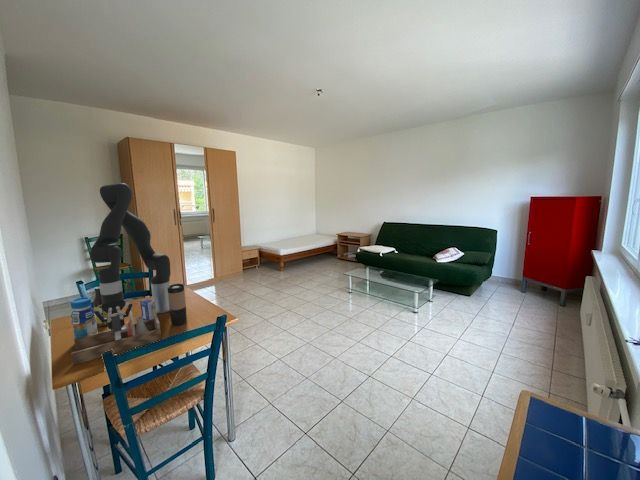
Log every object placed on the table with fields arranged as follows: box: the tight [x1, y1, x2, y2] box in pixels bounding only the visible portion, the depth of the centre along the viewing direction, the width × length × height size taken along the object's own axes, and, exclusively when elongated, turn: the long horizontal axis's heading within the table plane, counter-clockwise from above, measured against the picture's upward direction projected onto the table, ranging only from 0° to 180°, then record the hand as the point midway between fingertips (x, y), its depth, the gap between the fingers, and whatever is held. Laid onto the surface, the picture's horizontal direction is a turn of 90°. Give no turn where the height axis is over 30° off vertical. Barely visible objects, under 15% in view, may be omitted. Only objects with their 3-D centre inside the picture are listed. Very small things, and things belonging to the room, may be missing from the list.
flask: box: [135, 315, 150, 335], centre depth 125 cm, size 7×7×10 cm
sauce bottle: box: [92, 286, 108, 327], centre depth 137 cm, size 6×6×20 cm
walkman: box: [139, 298, 158, 321], centre depth 140 cm, size 8×3×12 cm, turn 67°
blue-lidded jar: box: [70, 296, 99, 339], centre depth 121 cm, size 8×8×20 cm
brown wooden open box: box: [70, 310, 163, 366], centre depth 119 cm, size 30×14×12 cm, turn 128°
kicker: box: [111, 313, 133, 341], centre depth 120 cm, size 7×14×14 cm, turn 38°
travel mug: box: [167, 283, 188, 327], centre depth 139 cm, size 8×8×20 cm
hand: (116, 327), depth 119 cm, fingers closed on kicker, 3 cm apart
